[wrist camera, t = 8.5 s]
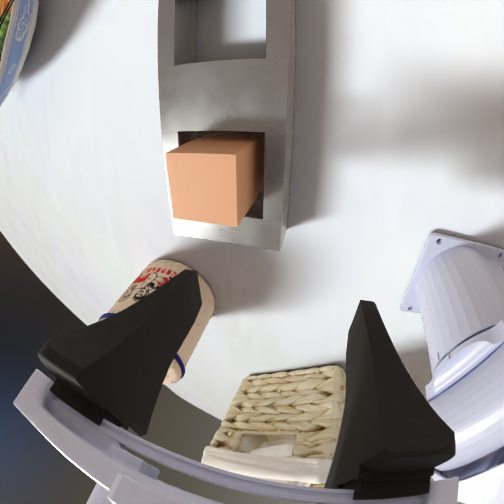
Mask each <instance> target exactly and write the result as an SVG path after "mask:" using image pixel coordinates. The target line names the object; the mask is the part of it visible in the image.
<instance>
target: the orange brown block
mask: <svg viewBox="0 0 504 504" xmlns="http://www.w3.org/2000/svg"><path fill="white" fill-rule="evenodd" d="M165 157H166V167H167V175H168V184H169V192H170V199H171V207H172V214H173V219H180V220H188V221H195V222H203V223H211V224H218V225H226V226H233V227H238V225H239V224H240V222H241V221H242V219H243V218H244V216H245V215H246V213H247V212H248V210H249V209H250V207H251V206H252V204H253V203H254V201H255V200H256V198H257V197H258V195H259V194H260V192H261V191H262V189H263V176H264V135H263V134H243V133H208V134H206V135H203V136H201V137H199V138H197V139H194V140H192V141H190V142H188V143H185V144H183V145H181V146H179V147H177V148H175V149H173V150H171V151H169V152H167V153H165Z"/></svg>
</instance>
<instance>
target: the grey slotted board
mask: <svg viewBox="0 0 504 504" xmlns="http://www.w3.org/2000/svg"><path fill="white" fill-rule="evenodd" d="M196 8H197V0H159V6H158V80H159V101H160V116H161V129H162V141H163V151H164V161H165V170H166V179H167V187H168V194H169V202H170V209H171V216H172V222H173V228H174V235H180V236H187V237H194V238H200V239H207V240H213V241H220V242H226V243H233V244H239V245H246V246H252V247H258V248H265V249H271V250H278V251H280V248H281V245H282V242H283V239H284V236H285V233H286V230H287V220H288V206H289V192H290V176H291V159H292V140H293V118H294V90H295V37H296V11H295V0H266V58H255V59H230V60H216V61H206V62H197V63H196ZM198 131H246V132H265V159H264V200H259V199H256V200H255V201H254V203H253V204H252V206H251V207H250V209H249V210H248V212H247V213H246V215H245V216H244V218H243V219H242V221H241V222H240V224H239V225H238V227H233V226H226V225H218V224H211V223H203V222H195V221H188V220H180V219H173V214H172V207H171V199H170V192H169V184H168V175H167V167H166V157H165V153H167V152H169V151H171V150H173V149H175V148H177V147H179V146H181V145H183V144H185V143H188V142H190V141H192V140H194V139H197V138H199V133H198Z"/></svg>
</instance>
